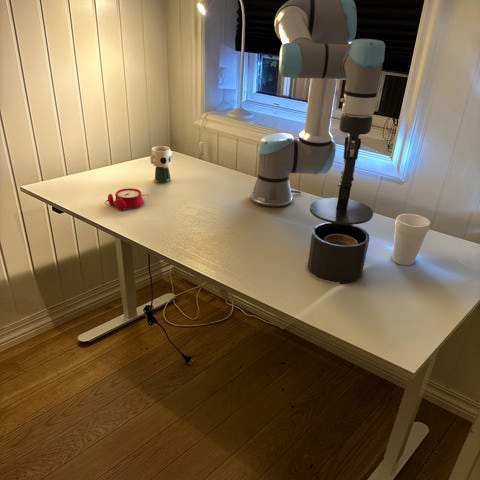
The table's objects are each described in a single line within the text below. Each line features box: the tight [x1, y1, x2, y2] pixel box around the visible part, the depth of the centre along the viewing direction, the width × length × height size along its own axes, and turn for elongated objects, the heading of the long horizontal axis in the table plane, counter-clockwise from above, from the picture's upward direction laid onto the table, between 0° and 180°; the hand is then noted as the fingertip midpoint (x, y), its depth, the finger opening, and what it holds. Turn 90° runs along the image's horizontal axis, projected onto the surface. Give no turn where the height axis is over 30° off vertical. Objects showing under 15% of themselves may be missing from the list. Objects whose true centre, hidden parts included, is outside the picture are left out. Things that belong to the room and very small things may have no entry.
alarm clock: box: [104, 187, 149, 211], centre depth 172 cm, size 10×6×15 cm
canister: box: [306, 221, 370, 285], centre depth 137 cm, size 16×16×12 cm
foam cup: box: [392, 213, 431, 266], centre depth 143 cm, size 10×9×13 cm
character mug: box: [149, 145, 173, 184], centre depth 191 cm, size 11×7×13 cm, turn 139°
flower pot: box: [324, 234, 358, 245], centre depth 137 cm, size 9×9×9 cm
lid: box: [309, 180, 374, 225], centre depth 127 cm, size 17×17×9 cm
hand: (341, 207), depth 129 cm, fingers closed on lid, 3 cm apart
